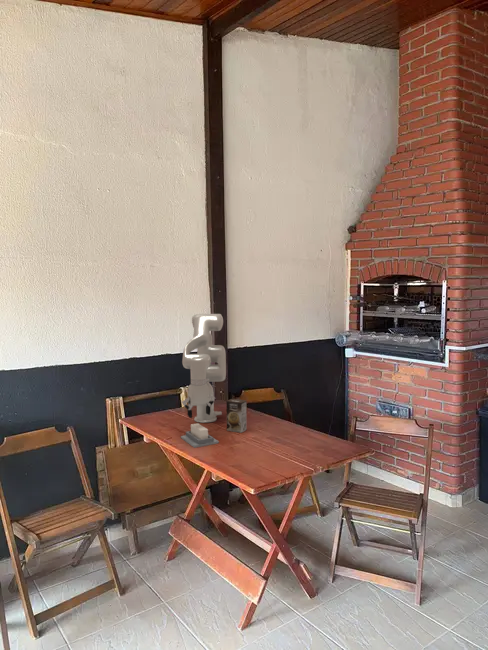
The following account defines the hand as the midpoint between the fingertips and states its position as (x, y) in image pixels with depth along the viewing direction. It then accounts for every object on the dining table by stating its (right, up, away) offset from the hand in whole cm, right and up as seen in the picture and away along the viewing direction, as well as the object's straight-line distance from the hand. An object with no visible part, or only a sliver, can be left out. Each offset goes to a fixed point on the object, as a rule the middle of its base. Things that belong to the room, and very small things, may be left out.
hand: (199, 415), depth 262 cm
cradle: (0, -13, +1) cm, 13 cm away
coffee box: (+18, -11, +17) cm, 27 cm away
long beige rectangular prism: (0, -12, +1) cm, 12 cm away
